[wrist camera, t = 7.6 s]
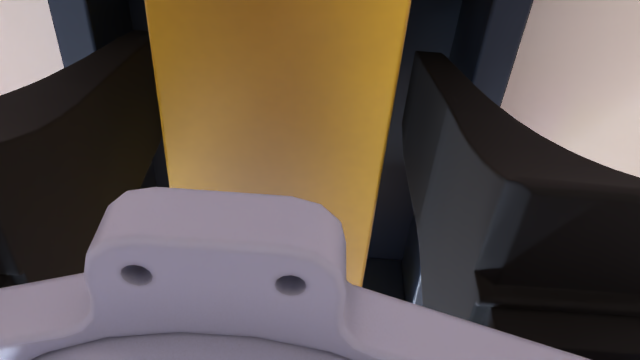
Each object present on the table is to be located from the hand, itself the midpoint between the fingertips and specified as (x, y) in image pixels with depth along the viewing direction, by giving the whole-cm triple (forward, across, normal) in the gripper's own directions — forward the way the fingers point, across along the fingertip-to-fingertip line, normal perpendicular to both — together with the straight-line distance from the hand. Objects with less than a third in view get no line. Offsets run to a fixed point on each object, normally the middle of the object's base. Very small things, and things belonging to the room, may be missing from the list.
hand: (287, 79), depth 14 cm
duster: (+1, 0, 0) cm, 1 cm away
